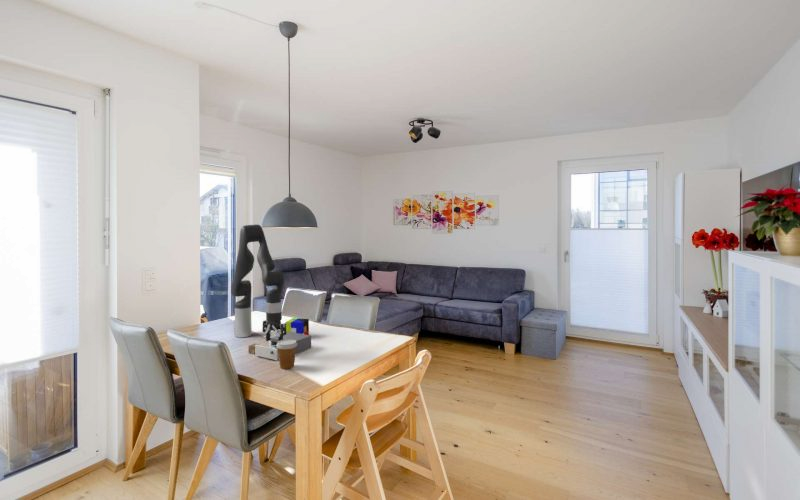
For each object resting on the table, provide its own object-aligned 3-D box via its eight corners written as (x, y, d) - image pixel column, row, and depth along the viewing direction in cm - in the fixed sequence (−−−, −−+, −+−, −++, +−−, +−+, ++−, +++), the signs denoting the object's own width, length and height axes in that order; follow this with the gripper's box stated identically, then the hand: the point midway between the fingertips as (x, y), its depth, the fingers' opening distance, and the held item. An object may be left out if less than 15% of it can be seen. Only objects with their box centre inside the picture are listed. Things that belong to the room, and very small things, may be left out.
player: (270, 350, 211) (269, 337, 210) (289, 343, 223) (289, 331, 222) (292, 355, 203) (292, 342, 202) (311, 348, 215) (311, 335, 215)
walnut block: (248, 353, 207) (248, 345, 207) (254, 350, 210) (254, 343, 210) (253, 354, 205) (253, 346, 205) (260, 352, 209) (259, 344, 208)
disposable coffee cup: (279, 363, 192) (278, 339, 191) (299, 363, 192) (298, 338, 192) (274, 370, 182) (274, 345, 181) (295, 370, 183) (295, 344, 182)
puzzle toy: (301, 339, 231) (301, 322, 231) (285, 338, 233) (285, 322, 233) (308, 335, 241) (308, 318, 240) (293, 334, 243) (293, 318, 242)
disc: (265, 352, 201) (265, 348, 201) (274, 349, 207) (274, 345, 207) (274, 354, 199) (274, 350, 199) (283, 351, 204) (282, 346, 204)
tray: (254, 355, 201) (254, 345, 201) (275, 347, 213) (275, 338, 213) (275, 360, 194) (275, 350, 193) (296, 352, 206) (296, 342, 206)
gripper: (258, 310, 201) (258, 341, 203) (278, 314, 195) (279, 346, 196) (269, 307, 208) (269, 338, 209) (289, 311, 201) (290, 342, 203)
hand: (274, 342), depth 203 cm, fingers open, 8 cm apart
